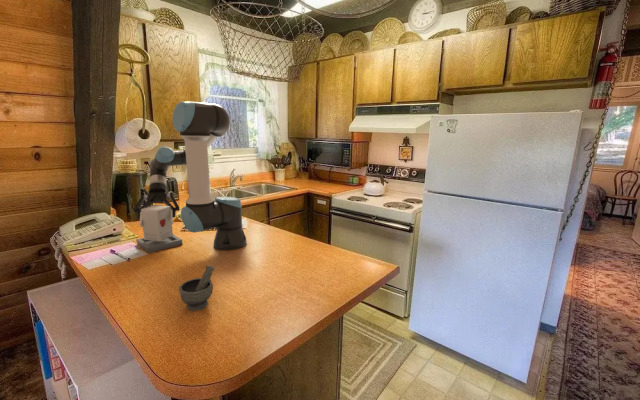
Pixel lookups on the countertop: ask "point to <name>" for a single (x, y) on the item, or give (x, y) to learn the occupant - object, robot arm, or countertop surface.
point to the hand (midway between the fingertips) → (156, 224)
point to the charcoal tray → (159, 244)
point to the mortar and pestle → (197, 290)
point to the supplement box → (157, 222)
